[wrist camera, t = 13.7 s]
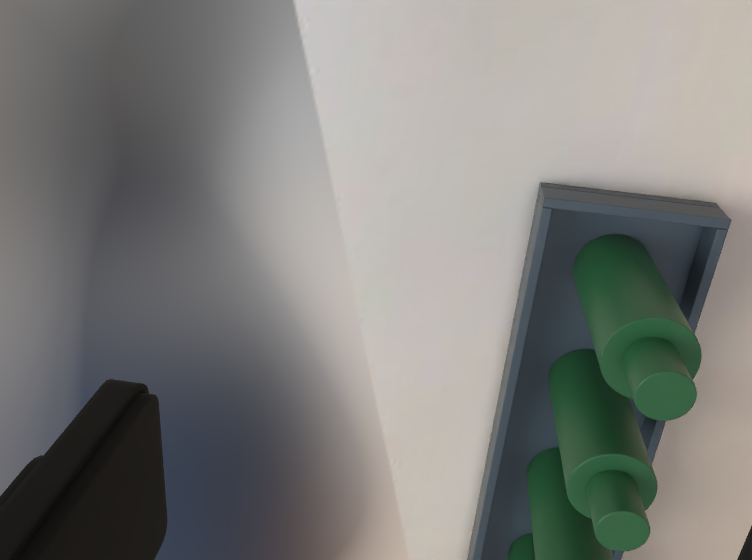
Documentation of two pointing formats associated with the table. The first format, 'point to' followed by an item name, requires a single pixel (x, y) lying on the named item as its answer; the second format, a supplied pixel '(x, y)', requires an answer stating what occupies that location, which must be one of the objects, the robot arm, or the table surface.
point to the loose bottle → (637, 327)
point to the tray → (577, 329)
